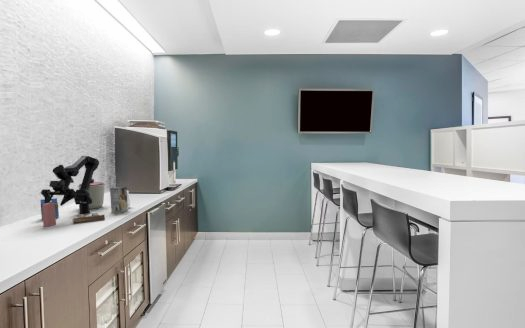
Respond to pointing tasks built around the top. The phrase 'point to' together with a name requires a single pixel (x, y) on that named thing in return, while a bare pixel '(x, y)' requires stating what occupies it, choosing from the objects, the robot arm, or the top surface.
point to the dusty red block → (49, 214)
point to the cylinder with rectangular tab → (128, 199)
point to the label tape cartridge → (55, 207)
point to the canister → (96, 194)
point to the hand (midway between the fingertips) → (52, 205)
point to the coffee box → (118, 199)
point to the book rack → (88, 218)
